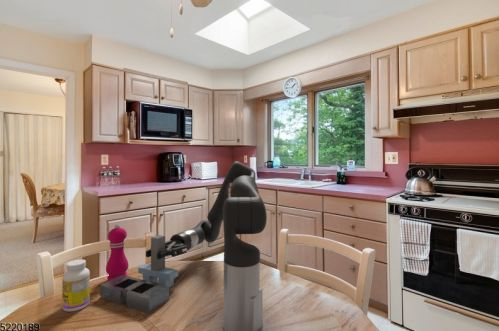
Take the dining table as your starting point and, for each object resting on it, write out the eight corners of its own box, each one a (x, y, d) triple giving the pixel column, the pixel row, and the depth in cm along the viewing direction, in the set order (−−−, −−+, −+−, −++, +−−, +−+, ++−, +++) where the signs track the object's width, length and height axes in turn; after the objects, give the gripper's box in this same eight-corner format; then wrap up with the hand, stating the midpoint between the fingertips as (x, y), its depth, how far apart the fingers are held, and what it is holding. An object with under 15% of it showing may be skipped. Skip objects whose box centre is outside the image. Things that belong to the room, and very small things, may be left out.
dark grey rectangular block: (169, 299, 79) (169, 286, 79) (149, 313, 72) (149, 299, 72) (122, 286, 87) (122, 274, 87) (100, 297, 80) (100, 284, 80)
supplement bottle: (61, 305, 76) (61, 261, 76) (87, 297, 80) (87, 256, 80) (63, 315, 71) (63, 268, 71) (91, 307, 75) (91, 262, 75)
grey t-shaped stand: (178, 286, 88) (178, 237, 88) (170, 291, 84) (170, 241, 84) (147, 278, 94) (147, 232, 93) (138, 283, 90) (138, 235, 90)
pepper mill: (119, 285, 88) (119, 226, 88) (100, 283, 90) (100, 225, 90) (132, 276, 95) (132, 221, 95) (115, 274, 97) (115, 220, 97)
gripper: (170, 229, 105) (136, 241, 89) (199, 233, 99) (168, 247, 83) (170, 248, 105) (136, 263, 89) (199, 253, 99) (168, 270, 83)
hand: (152, 255), depth 86 cm, fingers open, 4 cm apart
